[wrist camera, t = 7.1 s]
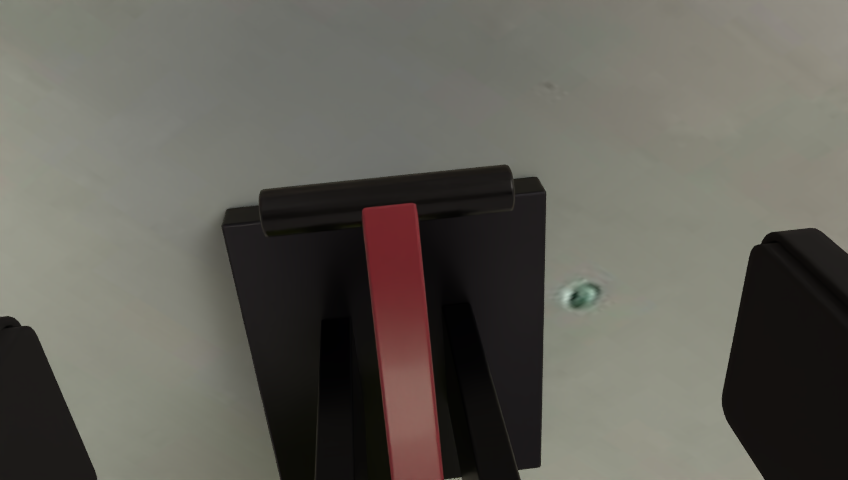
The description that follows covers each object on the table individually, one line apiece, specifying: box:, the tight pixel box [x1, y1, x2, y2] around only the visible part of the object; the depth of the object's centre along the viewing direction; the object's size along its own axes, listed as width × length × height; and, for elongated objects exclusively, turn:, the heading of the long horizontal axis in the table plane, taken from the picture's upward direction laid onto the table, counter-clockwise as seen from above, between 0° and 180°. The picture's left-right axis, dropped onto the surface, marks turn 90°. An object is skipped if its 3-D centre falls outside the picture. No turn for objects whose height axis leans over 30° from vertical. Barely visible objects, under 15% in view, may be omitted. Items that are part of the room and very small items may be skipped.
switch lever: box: [259, 165, 515, 480], centre depth 15 cm, size 12×5×2 cm, turn 4°
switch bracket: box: [222, 177, 546, 480], centre depth 20 cm, size 12×10×13 cm
